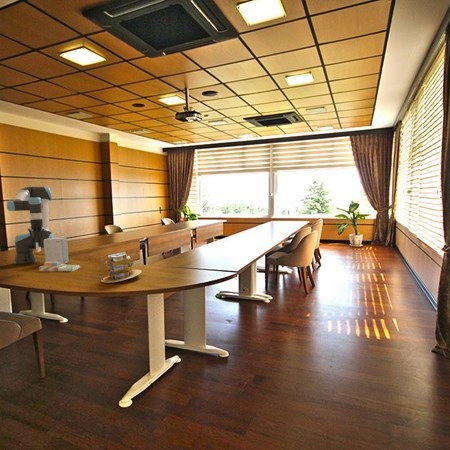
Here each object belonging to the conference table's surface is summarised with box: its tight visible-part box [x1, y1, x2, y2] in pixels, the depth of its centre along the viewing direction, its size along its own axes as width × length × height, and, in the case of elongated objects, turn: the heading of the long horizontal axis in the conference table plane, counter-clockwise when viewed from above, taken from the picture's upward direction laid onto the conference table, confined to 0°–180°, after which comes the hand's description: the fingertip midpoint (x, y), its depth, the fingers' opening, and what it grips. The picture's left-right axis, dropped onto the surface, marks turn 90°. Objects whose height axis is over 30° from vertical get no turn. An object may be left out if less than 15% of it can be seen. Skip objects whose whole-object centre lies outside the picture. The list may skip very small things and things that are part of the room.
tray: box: [57, 264, 81, 273], centre depth 222 cm, size 11×10×2 cm
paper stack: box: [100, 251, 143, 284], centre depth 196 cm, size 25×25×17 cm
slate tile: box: [51, 261, 61, 266], centre depth 223 cm, size 4×4×2 cm
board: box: [38, 263, 67, 272], centre depth 223 cm, size 14×10×3 cm
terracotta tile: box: [43, 261, 54, 266], centre depth 223 cm, size 4×4×2 cm
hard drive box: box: [43, 237, 70, 264], centre depth 242 cm, size 16×8×20 cm, turn 84°
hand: (38, 251), depth 223 cm, fingers closed
